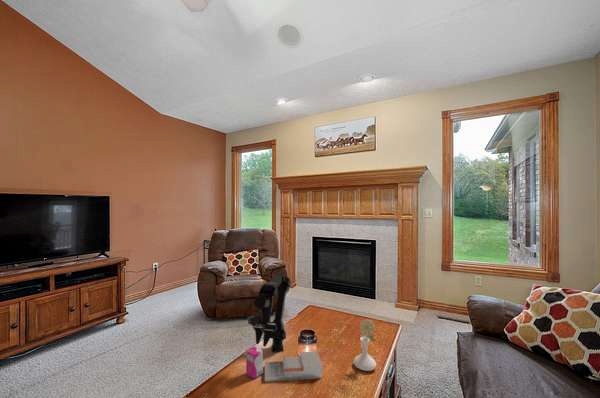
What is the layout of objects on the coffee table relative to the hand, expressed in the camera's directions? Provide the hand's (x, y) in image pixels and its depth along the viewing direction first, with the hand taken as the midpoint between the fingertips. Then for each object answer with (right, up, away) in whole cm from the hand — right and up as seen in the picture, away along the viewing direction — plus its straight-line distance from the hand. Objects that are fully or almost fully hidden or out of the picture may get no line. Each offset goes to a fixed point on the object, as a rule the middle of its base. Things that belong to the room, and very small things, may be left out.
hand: (260, 344), depth 126 cm
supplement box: (-3, -15, +1) cm, 15 cm away
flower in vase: (+52, -16, +8) cm, 55 cm away
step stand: (+15, -15, +3) cm, 21 cm away
